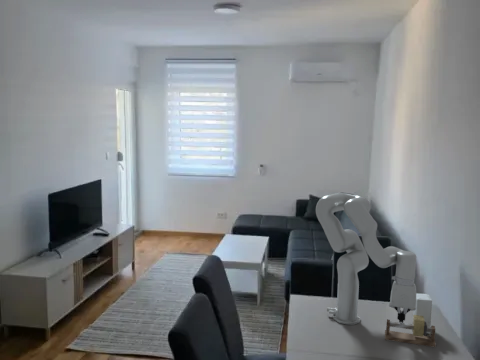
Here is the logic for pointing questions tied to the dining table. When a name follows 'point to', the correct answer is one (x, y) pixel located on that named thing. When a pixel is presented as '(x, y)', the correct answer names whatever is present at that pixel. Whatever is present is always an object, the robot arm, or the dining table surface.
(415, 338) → the rod stand
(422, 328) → the yellow rectangular block
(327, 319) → the dining table surface
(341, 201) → the robot arm
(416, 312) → the skincare box
